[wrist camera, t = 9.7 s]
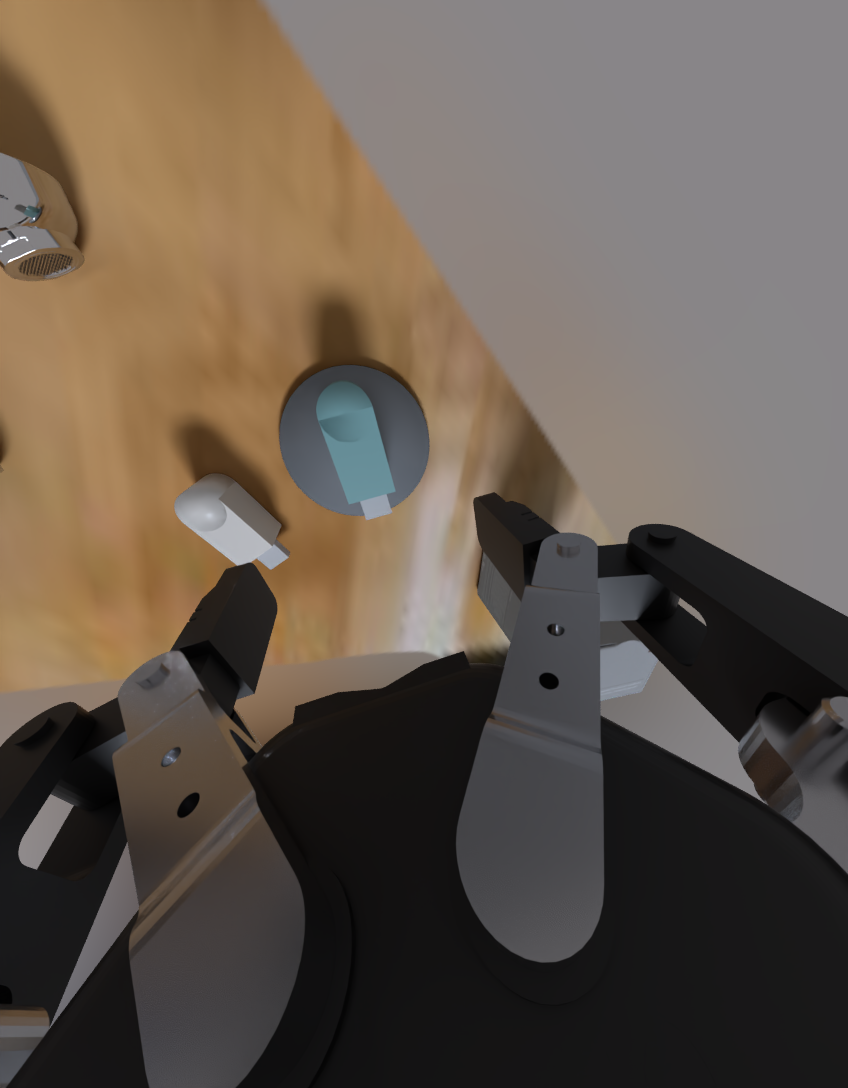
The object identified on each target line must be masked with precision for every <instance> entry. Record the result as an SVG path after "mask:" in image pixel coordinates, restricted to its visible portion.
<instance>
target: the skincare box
mask: <svg viewBox="0 0 848 1088" xmlns="http://www.w3.org/2000/svg"><path fill="white" fill-rule="evenodd" d="M477 591H478V596H479V597H480V599H481V600H482V602H483V603H484V605H485V606H486V607H487V609H488V610H489V612H490V613H491V615H492V616H493V617H494V619H495V620H496V622H497V623H498V625H499V626H500V628H501V629H502V631H503V632H504V633H505V635H506V636H507V638H508V639H509V641H510V642H511V639H512V636H513V632H514V628H515V624H516V620H517V617H518V613H519V609H520V605H521V601H520V600H519V598H518V597H517V596H516V594H515V593H514V592H513V590H512V589H511V588H510V586H509V585H508V584H507V582H506V581H505V580H504V578H503V577H502V576H501V574H500V573H499V571H498V570H497V569H496V567H495V566H494V565H493V563H492V562H491V561H490V559H489V558H488V557H487V555H486V554H485V553H484V551H483V558H482V565H481V572H480V579H479V585H478V590H477ZM657 661H658V659H657V658H656V657H655V656H654V655H653V654H652V653H651V652H650V651H649V649H648V648H647V647H646V646H645V645H644V644H643V643H642V642H641V641H640V640H639V639H638V638H637V637H636V636H635V635H634V634H633V633H632V632H631V631H630V630H629V629H628V628H627V627H626V626H625V625H624V624H623V623H622V622H621V621H600V701H602V700H606V699H611V698H616V697H620V696H624V695H629V694H634V693H639V692H641V691H642V690H643V688H644V686H645V684H646V682H647V680H648V678H649V677H650V675H651V673H652V671H653V669H654V667H655V665H656V663H657Z"/></svg>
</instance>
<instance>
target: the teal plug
mask: <svg viewBox="0 0 848 1088" xmlns="http://www.w3.org/2000/svg"><path fill="white" fill-rule="evenodd" d="M316 413H317V418H318V421H319V424H320V427H321V430H322V432H323V435H324V438H325V441H326V443H327V446H328V449H329V451H330V454H331V457H332V460H333V462H334V465H335V468H336V471H337V473H338V476H339V479H340V482H341V484H342V487H343V490H344V492H345V495H346V498H347V501H348V503H349V504H353V503H356V502H360V503H361V506H362V509H363V512H364V514H365V517H366V520H369V519H373V518H376V517H380V516H383V515H387V514H390V513H392V511H391V508H390V504H389V501H388V498H387V494H389V493H392V492H396V491H395V487H394V484H393V480H392V476H391V473H390V469H389V465H388V462H387V458H386V454H385V450H384V447H383V443H382V439H381V436H380V432H379V428H378V425H377V421H376V417H375V414H374V410H373V406H372V403H371V401H370V399H369V398H368V396H367V395H366V393H365V392H364V391H363V389H362V388H361V387H360V386H358V385H357V384H355V383H354V382H351V381H348V380H339V381H335V382H333V383H331V384H330V385H329V386H328V387H327V388H325V389H324V390H323V392H322V393H321V394H320V396H319V398H318V401H317V406H316Z"/></svg>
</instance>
